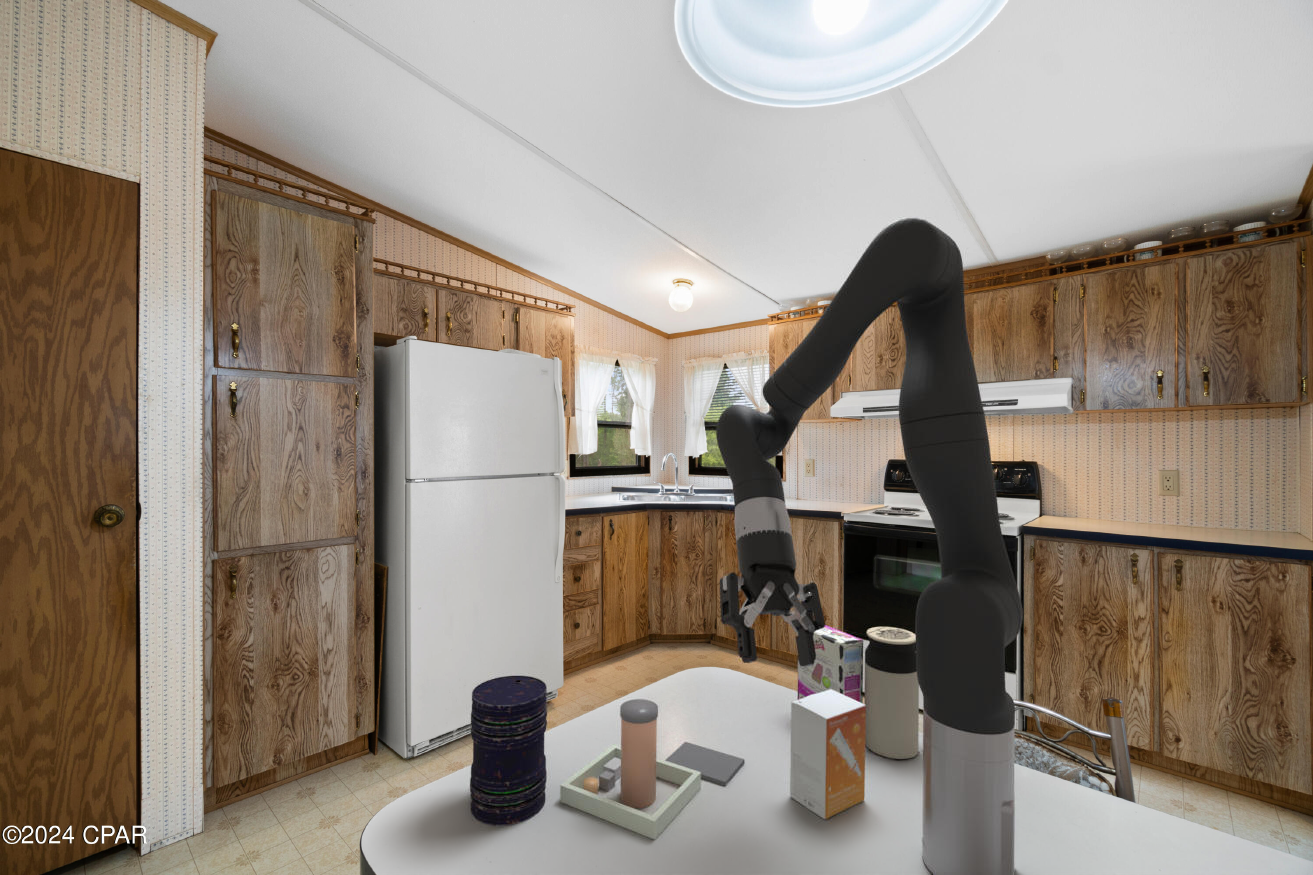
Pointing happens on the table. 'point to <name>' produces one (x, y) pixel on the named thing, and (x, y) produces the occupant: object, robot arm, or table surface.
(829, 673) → the candy bar box
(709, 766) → the mat
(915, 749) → the travel mug
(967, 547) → the robot arm
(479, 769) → the dark blue barrel
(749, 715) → the table surface
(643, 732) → the canister
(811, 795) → the small box
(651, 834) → the parts tub
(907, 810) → the table surface
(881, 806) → the table surface
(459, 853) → the table surface
